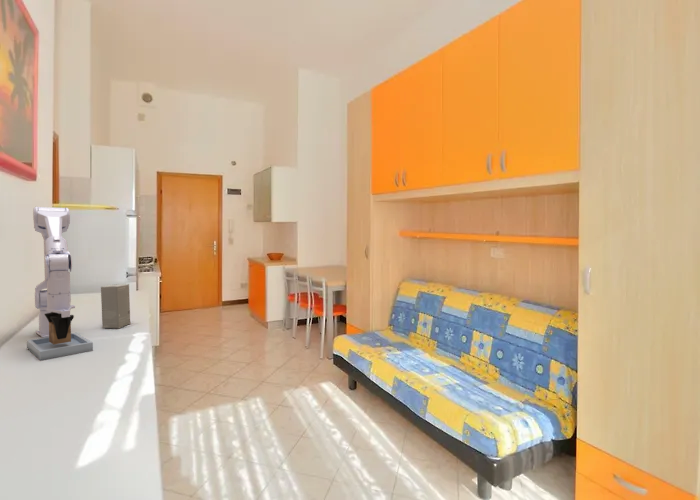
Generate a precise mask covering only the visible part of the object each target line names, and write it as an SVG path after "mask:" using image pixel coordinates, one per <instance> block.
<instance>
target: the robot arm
mask: <svg viewBox="0 0 700 500" xmlns="http://www.w3.org/2000/svg"><path fill="white" fill-rule="evenodd" d="M32 212H33V213H32V216H33V217H32V218H33V229H34V231H35V232H36V233H40V234H41V237H42V239H43V259H44V260H43V263H44V280H43V281H41V282H40V283H38V284H37V285H36V287H34V290H35V291H34V306H35V309H39V313H38V330H35V333H36V334H37V335H39V336H40V338H45V337H49V322H53V324H54V326H55V331H56V335H57V338H58V339H63V338H66V337H67V333H68V329H69V326H70V323H71V324H72V321H73V319H74V318H75V315H74V314H71V310H72V309H75V308H76V306H75V305H74V304H73V305H72V304H71V302H72V301H71V300H72V299H71V297H72V296H71V272H72V269H73V258H72V255H71V253H70V251H69V248H68V242H67V241H68V240H67V239H66V238H64V237H63V233H66V232H68V229H69V226H70V223H71V214H70V213H71V212H70V209H69V208H68V207H49V206H47V207H46V206H37V205H36V206H34V207H33V211H32ZM45 289H46V290H45Z"/></svg>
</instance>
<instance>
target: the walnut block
mask: <svg viewBox="0 0 700 500" xmlns="http://www.w3.org/2000/svg"><path fill="white" fill-rule="evenodd" d="M71 333H72V322H71V323H70V326H69V329H68V333H67V337H66V338H63V339H58V338H57V335H56V331H55V326H54V324H53V322H49V342H51V343H52V344H53V345H54V344H60V343H66V342H71Z"/></svg>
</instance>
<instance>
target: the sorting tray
mask: <svg viewBox="0 0 700 500" xmlns="http://www.w3.org/2000/svg"><path fill="white" fill-rule="evenodd" d="M27 348H28V349H29V350H30V351H31V352H30V351H29V350H28V349H27ZM26 349H27V350H28V351H29V352H30V353H32V354H33V355H34V356H35V357H36V358H37V359H38V360H39V361H44V360H50V359H56V358H60V357H61V358H62V357H65V356H72V355H76V354H81V353H87V352H92V351H94V343H93V341H91V340H89V339H88V338H86V337H84V336H83V335H81V334H80V333H77V332H73V333H72V332H71V342H66V343H60V344H54V345H53V344H52V343H51V342H49V337H40V338H34V339H29V340H26Z"/></svg>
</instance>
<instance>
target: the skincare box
mask: <svg viewBox="0 0 700 500" xmlns="http://www.w3.org/2000/svg"><path fill="white" fill-rule="evenodd" d="M100 293H101V294H100V299H101V301H100V302H101V323H102V327H101V328H102V329H121V328H124V327H125V326H127V325H130V324H131V306H130V284H129V283H128V284H126V283H125V284H124V283H123V284H119V283H118V284H110V285H108V284H107V285H104V286H100Z"/></svg>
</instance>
